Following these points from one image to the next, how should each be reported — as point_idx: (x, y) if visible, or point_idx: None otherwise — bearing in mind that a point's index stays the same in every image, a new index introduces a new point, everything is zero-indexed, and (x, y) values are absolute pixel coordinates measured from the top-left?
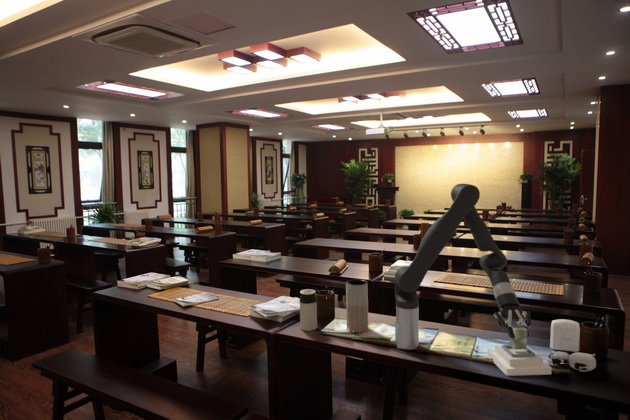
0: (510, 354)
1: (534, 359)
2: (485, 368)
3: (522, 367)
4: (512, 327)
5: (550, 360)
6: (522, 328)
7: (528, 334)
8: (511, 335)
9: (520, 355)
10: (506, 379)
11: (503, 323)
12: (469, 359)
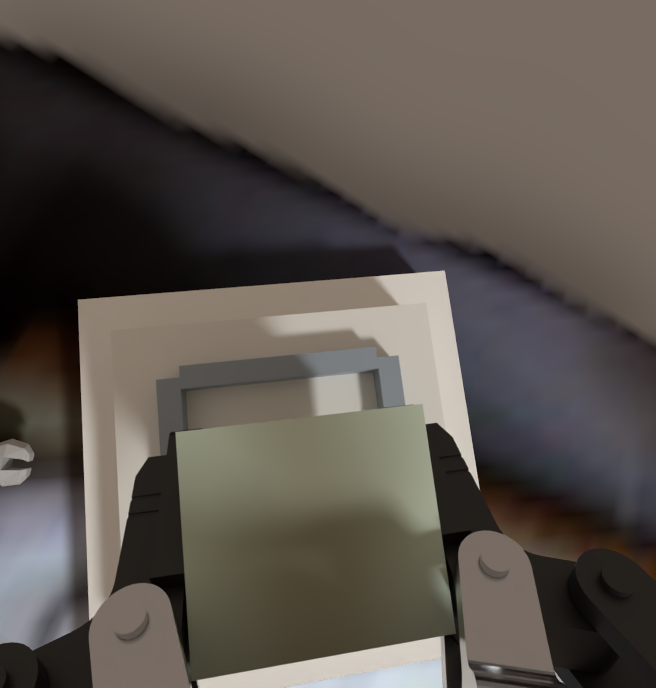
0: (398, 383)
1: (198, 323)
2: (541, 390)
3: (317, 298)
4: (429, 539)
5: (2, 455)
6: (246, 492)
7: (152, 472)
8: (436, 429)
9: (315, 353)
10: (443, 237)
11: (641, 597)
12: (628, 540)
